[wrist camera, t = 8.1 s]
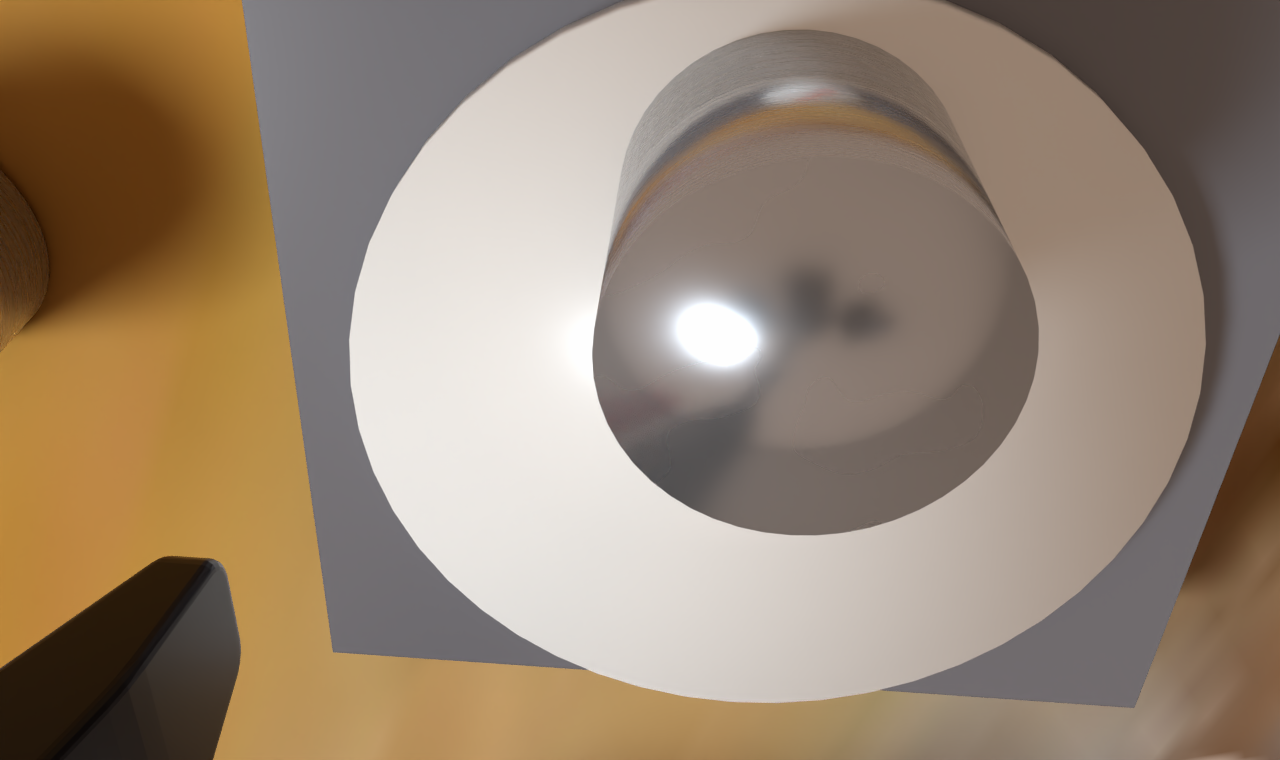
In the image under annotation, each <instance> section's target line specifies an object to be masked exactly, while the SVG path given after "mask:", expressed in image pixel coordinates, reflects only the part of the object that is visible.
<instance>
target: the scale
mask: <svg viewBox="0 0 1280 760" xmlns="http://www.w3.org/2000/svg"><path fill="white" fill-rule="evenodd" d="M242 4H243V11H244V18H245V25H246V32H247V40H248V47H249V54H250V61H251V68H252V75H253V83H254V90H255V97H256V104H257V111H258V118H259V126H260V133H261V140H262V147H263V154H264V161H265V168H266V176H267V183H268V190H269V197H270V204H271V211H272V219H273V226H274V233H275V240H276V247H277V254H278V261H279V269H280V276H281V283H282V290H283V297H284V304H285V312H286V319H287V326H288V333H289V340H290V347H291V355H292V362H293V369H294V376H295V383H296V390H297V397H298V405H299V412H300V419H301V426H302V433H303V440H304V448H305V455H306V462H307V469H308V476H309V483H310V491H311V498H312V505H313V512H314V519H315V526H316V533H317V541H318V548H319V555H320V562H321V569H322V576H323V584H324V591H325V598H326V605H327V612H328V619H329V627H330V634H331V641H332V648H333V652H338V653H353V654H367V655H381V656H396V657H410V658H424V659H439V660H453V661H468V662H482V663H496V664H511V665H525V666H540V667H554V668H568V669H583V670H590V671H593V672H595V673H597V674H600V675H604V676H607V677H610V678H613V679H616V680H620V681H623V682H626V683H629V684H632V685H636V686H639V687H643V688H647V689H652V690H657V691H662V692H666V693H671V694H676V695H681V696H685V697H694V698H703V699H711V700H720V701H728V702H760V703H783V702H798V701H813V700H825V699H832V698H838V697H844V696H851V695H857V694H863V693H869V692H873V691H877V690H885V691H899V692H913V693H928V694H942V695H957V696H971V697H985V698H1000V699H1014V700H1028V701H1043V702H1057V703H1072V704H1086V705H1100V706H1115V707H1129V708H1134V707H1135V705H1136V702H1137V700H1138V697H1139V694H1140V692H1141V689H1142V687H1143V684H1144V682H1145V679H1146V676H1147V674H1148V671H1149V669H1150V666H1151V664H1152V661H1153V659H1154V656H1155V653H1156V651H1157V648H1158V646H1159V643H1160V641H1161V638H1162V635H1163V633H1164V630H1165V628H1166V625H1167V623H1168V620H1169V617H1170V615H1171V612H1172V610H1173V607H1174V605H1175V602H1176V599H1177V597H1178V594H1179V592H1180V589H1181V587H1182V584H1183V582H1184V579H1185V576H1186V574H1187V571H1188V569H1189V566H1190V564H1191V561H1192V558H1193V556H1194V553H1195V551H1196V548H1197V546H1198V543H1199V540H1200V538H1201V535H1202V533H1203V530H1204V528H1205V525H1206V522H1207V520H1208V517H1209V515H1210V512H1211V510H1212V507H1213V505H1214V502H1215V499H1216V497H1217V494H1218V492H1219V489H1220V487H1221V484H1222V481H1223V479H1224V476H1225V474H1226V471H1227V469H1228V466H1229V463H1230V461H1231V458H1232V456H1233V453H1234V451H1235V448H1236V445H1237V443H1238V440H1239V438H1240V435H1241V433H1242V430H1243V428H1244V425H1245V422H1246V420H1247V417H1248V415H1249V412H1250V410H1251V407H1252V404H1253V402H1254V399H1255V397H1256V394H1257V392H1258V389H1259V386H1260V384H1261V381H1262V379H1263V376H1264V374H1265V371H1266V368H1267V366H1268V363H1269V361H1270V358H1271V356H1272V353H1273V351H1274V348H1275V345H1276V343H1277V340H1278V338H1279V335H1280V0H242ZM781 30H817V31H826V32H834V33H838V34H842V35H846V36H850V37H854V38H857V39H860V40H862V41H865V42H867V43H870V44H872V45H875V46H877V47H879V48H881V49H883V50H884V51H886V52H888V53H890V54H891V55H893V56H895V57H897V58H898V59H900V60H901V61H902V62H903V63H905V64H906V65H907V66H909V67H910V68H911V69H912V70H914V71H915V72H916V73H917V74H918V75H919V76H920V77H921V78H922V79H923V80H924V81H925V82H926V83H927V84H928V85H929V86H930V87H931V88H932V90H933V91H934V93H935V94H936V95H937V97H938V98H939V100H940V101H941V102H942V104H943V105H944V107H945V109H946V111H947V113H948V115H949V117H950V119H951V121H952V123H953V124H954V126H955V129H956V131H957V133H958V135H959V137H960V139H961V141H962V143H963V145H964V147H965V149H966V151H967V153H968V155H969V158H970V160H971V162H972V164H973V166H974V168H975V170H976V172H977V174H978V176H979V178H980V180H981V182H982V184H983V187H984V189H985V191H986V193H987V195H988V197H989V199H990V201H991V203H992V205H993V207H994V209H995V211H996V213H997V216H998V218H999V220H1000V222H1001V224H1002V226H1003V228H1004V230H1005V232H1006V234H1007V236H1008V238H1009V240H1010V242H1011V244H1012V247H1013V249H1014V251H1015V253H1016V255H1017V257H1018V259H1019V261H1020V263H1021V265H1022V267H1023V269H1024V271H1025V273H1026V276H1027V278H1028V281H1029V284H1030V287H1031V290H1032V294H1033V297H1034V300H1035V304H1036V311H1037V318H1038V325H1039V352H1038V358H1037V364H1036V370H1035V376H1034V380H1033V383H1032V386H1031V389H1030V392H1029V395H1028V398H1027V401H1026V403H1025V405H1024V407H1023V409H1022V411H1021V413H1020V415H1019V417H1018V419H1017V421H1016V423H1015V425H1014V426H1013V428H1012V429H1011V431H1010V432H1009V434H1008V435H1007V437H1006V438H1005V440H1004V441H1003V443H1002V444H1001V445H1000V447H999V448H998V449H997V450H996V451H995V452H994V453H993V454H992V456H991V457H990V458H989V459H988V460H987V461H986V462H985V464H984V465H983V466H981V467H980V468H979V469H978V470H977V471H976V472H975V473H974V474H972V475H971V476H970V477H969V478H968V479H967V480H966V481H965V482H963V483H962V484H960V485H959V486H958V487H956V488H955V489H953V490H952V491H950V492H949V493H948V494H946V495H945V496H943V497H942V498H940V499H938V500H936V501H935V502H933V503H931V504H929V505H927V506H925V507H924V508H922V509H920V510H918V511H915V512H913V513H911V514H908V515H906V516H903V517H901V518H899V519H896V520H894V521H890V522H887V523H884V524H880V525H877V526H874V527H871V528H866V529H861V530H856V531H851V532H846V533H838V534H827V535H783V534H773V533H764V532H760V531H755V530H750V529H745V528H741V527H737V526H734V525H731V524H728V523H725V522H722V521H719V520H716V519H713V518H711V517H709V516H707V515H704V514H702V513H700V512H698V511H696V510H693V509H691V508H690V507H688V506H686V505H685V504H683V503H681V502H680V501H678V500H676V499H675V498H673V497H671V496H670V495H668V494H667V493H666V492H665V491H663V490H662V489H661V488H659V487H658V486H657V485H656V484H654V483H653V482H652V481H651V480H650V479H649V478H648V477H647V476H646V475H645V474H644V473H643V472H642V471H641V470H640V469H639V468H638V467H637V466H636V465H635V464H634V463H633V462H632V461H631V459H630V458H629V457H628V455H627V454H626V453H625V452H624V450H623V449H622V448H621V446H620V445H619V443H618V442H617V440H616V438H615V436H614V435H613V433H612V431H611V429H610V427H609V426H608V424H607V421H606V419H605V416H604V414H603V411H602V408H601V406H600V403H599V400H598V396H597V391H596V387H595V382H594V377H593V362H592V347H593V336H594V327H595V321H596V315H597V309H598V303H599V298H600V292H601V286H602V280H603V274H604V269H605V263H606V257H607V251H608V245H609V240H610V234H611V228H612V222H613V216H614V211H615V205H616V199H617V193H618V188H619V182H620V176H621V171H622V166H623V162H624V158H625V154H626V150H627V148H628V145H629V143H630V140H631V137H632V135H633V132H634V130H635V128H636V127H637V125H638V123H639V121H640V119H641V118H642V116H643V114H644V112H645V111H646V109H647V108H648V107H649V105H650V104H651V103H652V101H653V100H654V99H655V97H656V96H657V95H658V93H659V92H660V91H661V90H662V89H663V88H664V87H665V86H666V85H667V84H668V83H669V82H670V81H671V80H672V79H673V78H674V77H675V76H676V75H678V74H679V73H680V72H682V71H683V70H684V69H685V68H687V67H688V66H689V65H690V64H692V63H693V62H695V61H696V60H698V59H700V58H701V57H703V56H705V55H706V54H708V53H710V52H711V51H713V50H715V49H717V48H720V47H722V46H724V45H727V44H729V43H731V42H734V41H736V40H739V39H743V38H746V37H750V36H753V35H757V34H761V33H768V32H774V31H781Z"/></svg>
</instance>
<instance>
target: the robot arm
mask: <svg viewBox="0 0 1280 760" xmlns="http://www.w3.org/2000/svg"><path fill="white" fill-rule="evenodd" d="M240 655H241V644H240V637H239V632H238V627H237V622H236V617H235V612H234V607H233V602H232V597H231V592H230V587H229V582H228V577H227V574H226V571H225V569H224V567H223V565H222V564H221V563H220V562H218V561H216V560H214V559H210V558H195V557H180V556H167V557H162V558H160V559H158V560H156V561H154V562H152V563H151V564H149V565H148V566H146V567H145V568H143V569H142V570H141V571H139V572H138V573H136V574H135V575H133V576H132V577H131V578H129V579H128V580H126V581H125V582H123V583H122V584H121V585H119V586H118V587H116V588H115V589H113V590H112V591H111V592H109V593H108V594H106V595H105V596H103V597H102V598H100V599H99V600H98V601H96V602H95V603H93V604H92V605H90V606H89V607H88V608H86V609H85V610H83V611H82V612H80V613H79V614H78V615H76V616H75V617H73V618H72V619H70V620H69V621H67V622H66V623H65V624H63V625H62V626H60V627H59V628H57V629H56V630H55V631H53V632H52V633H50V634H49V635H47V636H46V637H45V638H43V639H42V640H40V641H39V642H37V643H36V644H35V645H33V646H32V647H30V648H29V649H27V650H26V651H24V652H23V653H22V654H20V655H19V656H17V657H16V658H14V659H13V660H12V661H10V662H9V663H7V664H6V665H4V666H3V667H2V668H0V760H213V758H214V754H215V751H216V748H217V744H218V741H219V737H220V734H221V730H222V727H223V723H224V720H225V717H226V713H227V710H228V706H229V703H230V699H231V696H232V692H233V689H234V686H235V682H236V679H237V675H238V671H239V665H240Z"/></svg>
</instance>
